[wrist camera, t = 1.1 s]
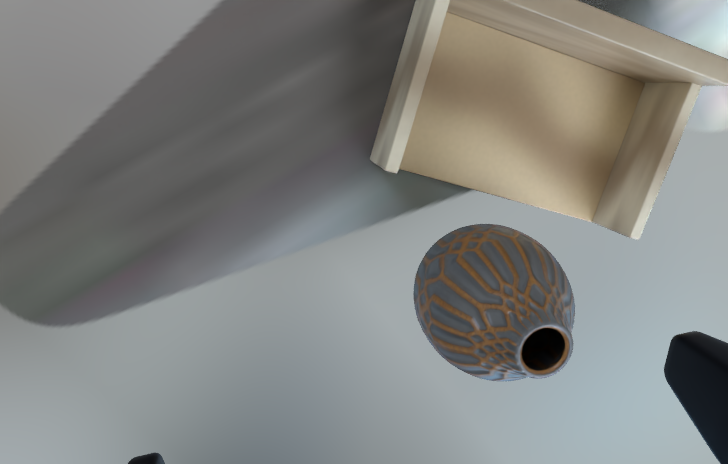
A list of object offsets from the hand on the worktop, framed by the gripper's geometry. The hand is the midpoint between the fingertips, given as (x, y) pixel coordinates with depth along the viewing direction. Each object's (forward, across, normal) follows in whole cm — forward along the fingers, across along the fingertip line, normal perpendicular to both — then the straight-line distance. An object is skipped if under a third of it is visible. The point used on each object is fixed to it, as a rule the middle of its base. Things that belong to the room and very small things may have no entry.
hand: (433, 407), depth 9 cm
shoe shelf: (+18, -10, +1) cm, 21 cm away
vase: (+16, -7, +9) cm, 20 cm away
